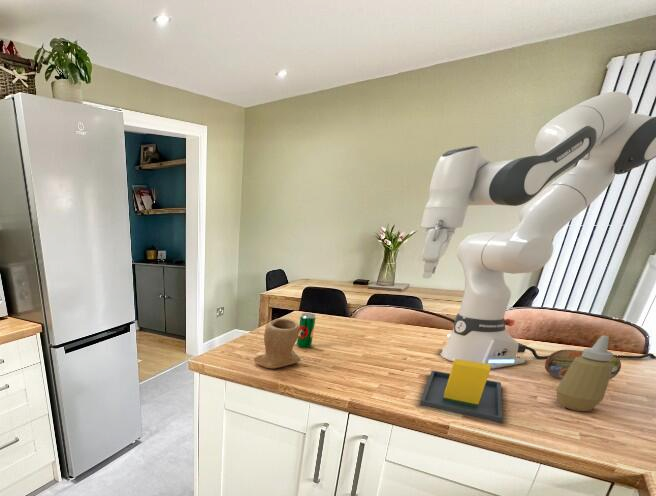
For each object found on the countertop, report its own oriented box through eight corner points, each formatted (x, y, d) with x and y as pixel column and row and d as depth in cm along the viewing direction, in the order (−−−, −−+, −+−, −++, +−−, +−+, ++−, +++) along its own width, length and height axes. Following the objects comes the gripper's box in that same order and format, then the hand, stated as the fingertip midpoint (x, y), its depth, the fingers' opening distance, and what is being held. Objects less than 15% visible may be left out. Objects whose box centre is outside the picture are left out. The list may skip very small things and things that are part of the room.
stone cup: (273, 374, 121) (278, 327, 115) (248, 363, 131) (252, 318, 125) (310, 366, 127) (317, 320, 121) (283, 355, 137) (289, 312, 131)
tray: (430, 376, 117) (431, 370, 117) (498, 388, 108) (500, 382, 108) (419, 407, 99) (420, 400, 99) (500, 425, 90) (502, 418, 89)
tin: (543, 377, 115) (554, 349, 111) (538, 373, 117) (549, 346, 114) (614, 384, 109) (628, 355, 106) (607, 380, 112) (620, 352, 108)
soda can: (312, 348, 143) (317, 315, 139) (297, 348, 144) (302, 315, 139) (309, 344, 148) (314, 312, 143) (295, 343, 149) (299, 312, 144)
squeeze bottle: (541, 400, 101) (570, 332, 94) (570, 398, 102) (601, 330, 94) (576, 415, 94) (609, 342, 87) (607, 413, 94) (643, 340, 87)
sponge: (443, 394, 104) (454, 358, 100) (477, 401, 100) (490, 364, 96) (442, 400, 101) (453, 363, 97) (477, 407, 97) (490, 369, 93)
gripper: (455, 221, 92) (439, 281, 97) (460, 219, 107) (446, 272, 112) (422, 221, 96) (409, 279, 101) (431, 219, 110) (419, 270, 116)
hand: (428, 275), depth 107 cm, fingers open, 8 cm apart
